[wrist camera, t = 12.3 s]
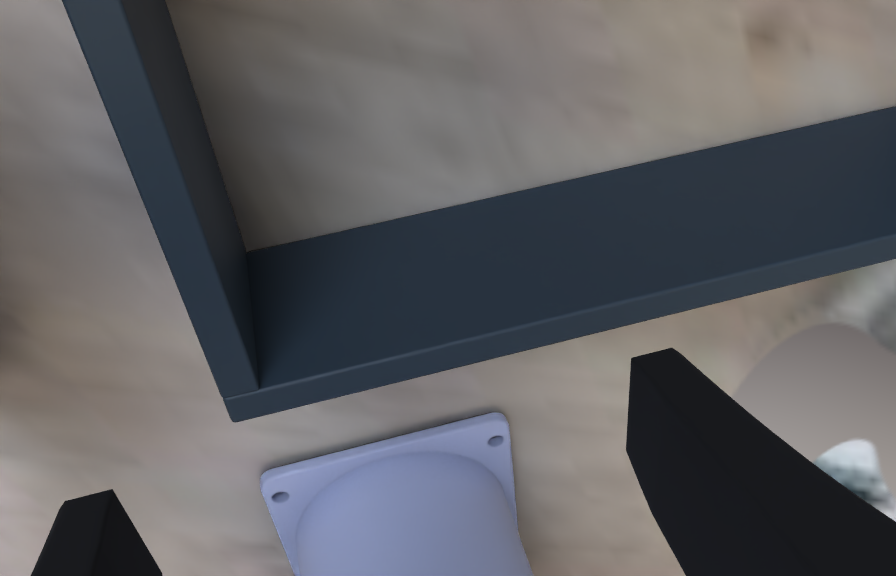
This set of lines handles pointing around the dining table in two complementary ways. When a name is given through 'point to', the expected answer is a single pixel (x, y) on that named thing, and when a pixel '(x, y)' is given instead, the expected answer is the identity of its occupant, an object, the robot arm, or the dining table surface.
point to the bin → (474, 239)
